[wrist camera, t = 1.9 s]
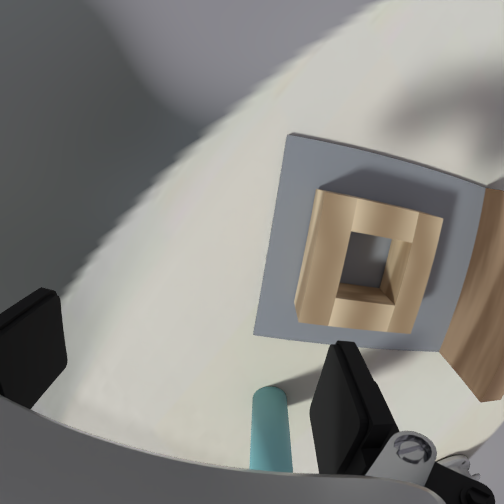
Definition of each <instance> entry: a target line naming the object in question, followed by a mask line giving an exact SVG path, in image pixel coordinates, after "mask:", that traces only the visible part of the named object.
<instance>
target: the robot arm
mask: <svg viewBox="0 0 504 504" xmlns="http://www.w3.org/2000/svg"><path fill="white" fill-rule="evenodd" d="M66 365H67V353H66V346H65V339H64V331H63V323H62V313H61V302H60V298H59V296H57V293H56V292H55V291H53V290H50V289H45V288H42V287H41V288H39V289H38V290H36V291H34V292H33V293H31V294H30V295H28V296H27V297H25V298H24V299H22V300H20V301H19V302H17V303H16V304H15V305H13V306H11V307H10V308H8V309H7V310H5V311H4V312H2V313H1V314H0V504H495V499H494V495H493V493H492V491H491V490H490V489H489V488H488V487H487V486H485V485H484V484H482V483H480V482H478V481H477V480H479V479H480V474H474V475H472V476H471V475H470V473H469V471H468V470H469V467H470V462H469V460H468V458H467V457H465V456H462V455H456V456H451V457H448V458H445V459H443V460H440V461H438V462H435V460H436V456H437V451H436V447H435V446H434V444H433V442H432V441H431V440H430V439H428V438H427V437H426V436H424V435H422V434H420V433H417V432H414V431H401V432H399V429H398V427H397V425H396V423H395V421H394V419H393V416H392V414H391V412H390V410H389V408H388V406H387V404H386V401H385V399H384V397H383V395H382V393H381V391H380V389H379V387H378V385H377V383H376V382H375V381H374V380H373V378H372V376H371V374H370V372H369V370H368V368H367V365H366V363H365V361H364V359H363V357H362V355H361V353H360V351H359V349H358V347H357V345H356V343H355V342H351V341H339V340H338V341H337V342H336V343H335V344H331V345H330V347H329V350H328V353H327V356H326V360H325V363H324V366H323V369H322V373H321V376H320V379H319V382H318V385H317V388H316V391H315V394H314V397H313V400H312V403H311V406H310V421H311V426H312V432H313V438H314V444H315V450H316V456H317V463H318V469H319V474H309V473H289V472H274V471H263V470H253V469H244V468H236V467H228V466H221V465H215V464H208V463H202V462H197V461H192V460H186V459H181V458H177V457H172V456H168V455H163V454H159V453H155V452H151V451H147V450H143V449H139V448H135V447H132V446H128V445H125V444H121V443H118V442H115V441H111V440H108V439H105V438H102V437H99V436H96V435H93V434H90V433H87V432H84V431H82V430H79V429H76V428H73V427H71V426H68V425H66V424H63V423H61V422H58V421H56V420H53V419H51V418H48V417H46V416H44V415H41V414H39V413H37V412H34V411H32V410H30V409H31V408H32V407H33V406H34V404H35V403H36V402H37V401H38V399H39V398H40V397H41V396H42V395H43V393H44V392H45V391H46V390H47V389H48V388H49V386H50V385H51V384H52V383H53V382H54V381H55V379H56V378H57V377H58V376H59V375H60V374H61V372H62V371H63V370H64V369H65V368H66Z"/></svg>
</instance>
